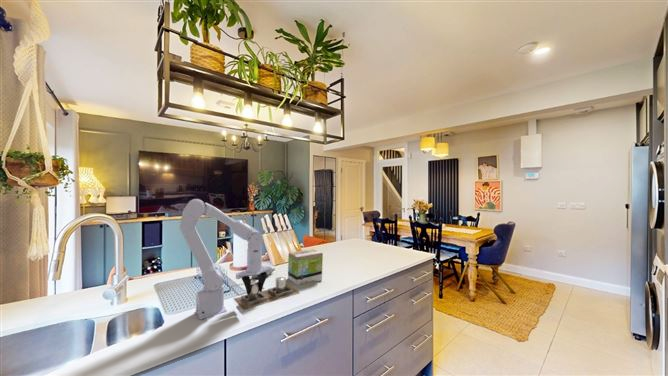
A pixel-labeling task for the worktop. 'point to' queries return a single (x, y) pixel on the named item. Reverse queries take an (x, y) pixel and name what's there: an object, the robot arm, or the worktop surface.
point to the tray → (236, 285)
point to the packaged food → (266, 273)
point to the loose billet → (254, 291)
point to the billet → (280, 285)
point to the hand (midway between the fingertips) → (254, 292)
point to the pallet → (265, 297)
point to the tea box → (305, 266)
